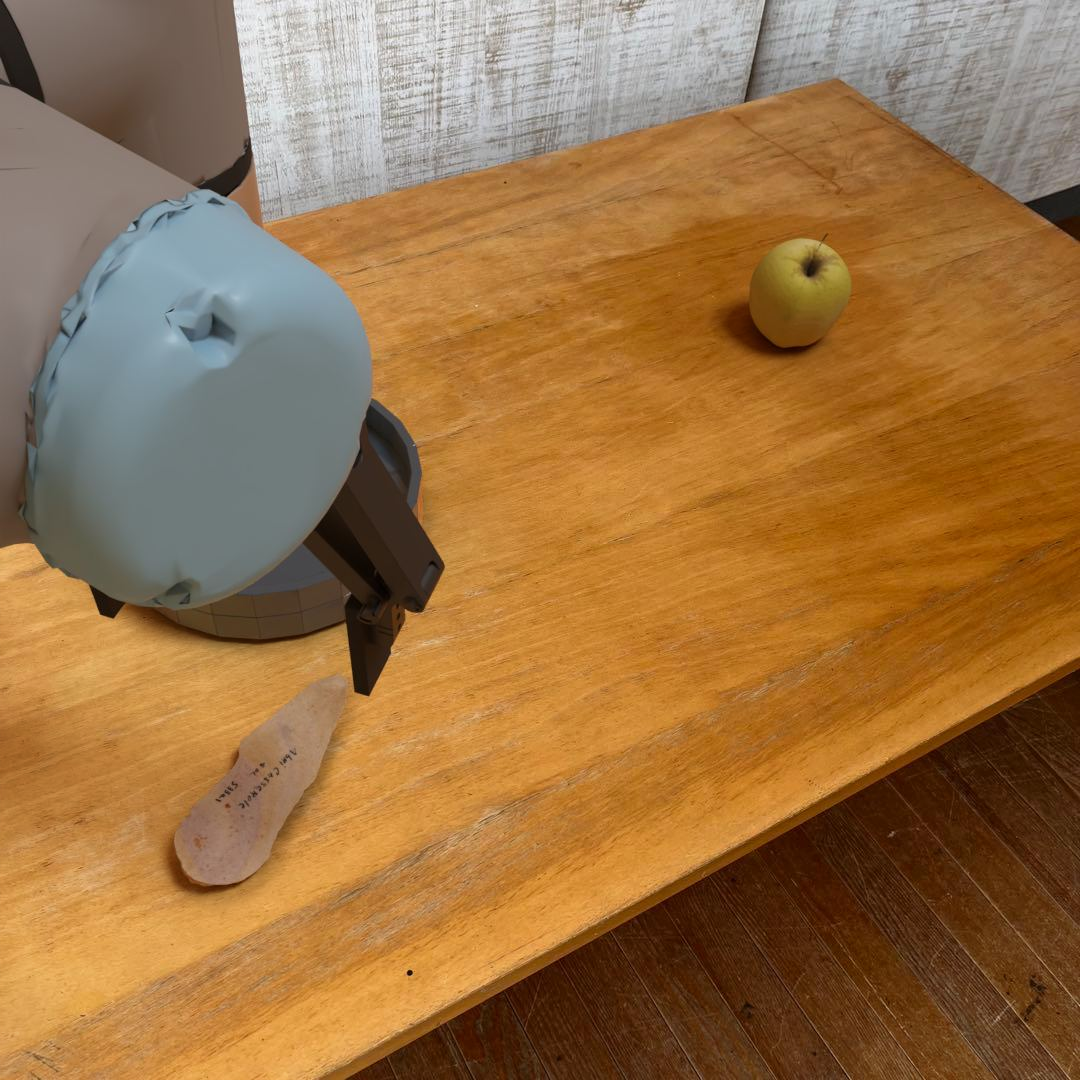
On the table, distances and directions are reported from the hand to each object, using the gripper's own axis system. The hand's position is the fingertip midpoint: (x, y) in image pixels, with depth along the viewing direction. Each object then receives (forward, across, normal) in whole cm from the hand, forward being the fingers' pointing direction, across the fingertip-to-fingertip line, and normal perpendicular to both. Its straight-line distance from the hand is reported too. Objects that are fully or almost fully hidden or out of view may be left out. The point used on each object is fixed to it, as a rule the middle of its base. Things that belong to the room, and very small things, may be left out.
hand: (244, 634), depth 58 cm
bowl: (+14, +9, -18) cm, 24 cm away
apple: (+14, -21, -53) cm, 58 cm away
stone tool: (+14, 0, 0) cm, 14 cm away
